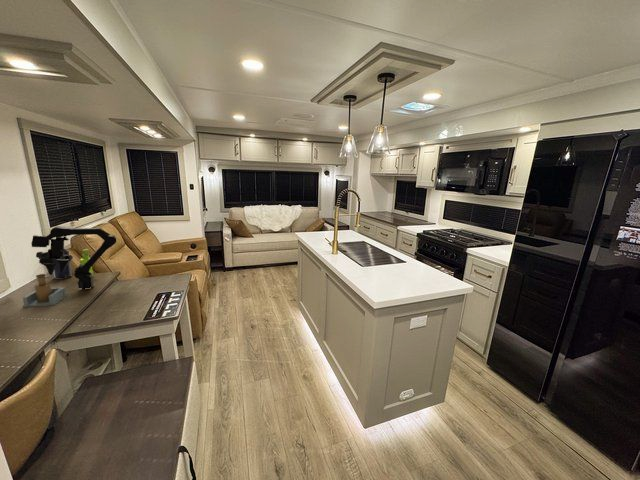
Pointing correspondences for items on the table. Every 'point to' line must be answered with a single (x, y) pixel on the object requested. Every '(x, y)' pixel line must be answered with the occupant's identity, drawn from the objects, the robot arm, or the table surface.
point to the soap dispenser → (85, 259)
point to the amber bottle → (42, 289)
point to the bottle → (66, 271)
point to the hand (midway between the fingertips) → (56, 273)
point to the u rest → (53, 299)
